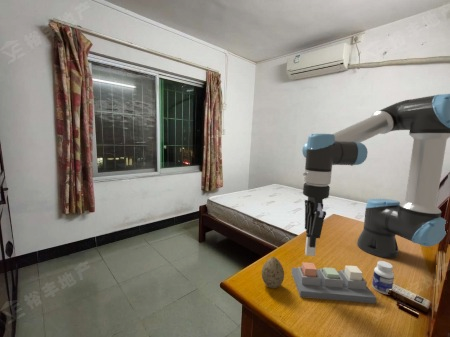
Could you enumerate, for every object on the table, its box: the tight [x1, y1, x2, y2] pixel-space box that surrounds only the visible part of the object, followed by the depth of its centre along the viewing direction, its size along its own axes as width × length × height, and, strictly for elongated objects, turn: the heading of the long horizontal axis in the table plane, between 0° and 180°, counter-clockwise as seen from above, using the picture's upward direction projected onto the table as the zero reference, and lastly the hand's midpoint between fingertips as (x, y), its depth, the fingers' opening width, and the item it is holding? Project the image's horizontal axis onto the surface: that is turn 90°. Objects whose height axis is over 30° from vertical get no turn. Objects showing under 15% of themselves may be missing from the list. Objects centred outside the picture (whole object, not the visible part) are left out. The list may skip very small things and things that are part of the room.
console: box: [290, 266, 377, 304], centre depth 70 cm, size 22×12×4 cm, turn 85°
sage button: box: [322, 267, 339, 279], centre depth 69 cm, size 4×4×3 cm
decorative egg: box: [261, 256, 285, 289], centre depth 69 cm, size 7×7×10 cm
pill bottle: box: [371, 260, 395, 295], centre depth 69 cm, size 5×5×9 cm
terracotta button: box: [301, 261, 318, 277], centre depth 70 cm, size 4×4×3 cm
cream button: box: [344, 265, 363, 281], centre depth 68 cm, size 4×4×3 cm
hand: (309, 254), depth 69 cm, fingers closed
